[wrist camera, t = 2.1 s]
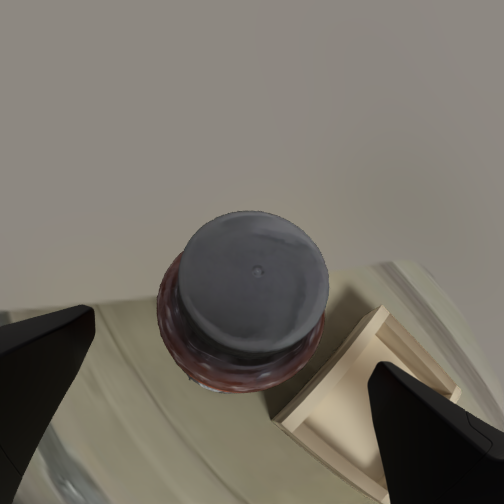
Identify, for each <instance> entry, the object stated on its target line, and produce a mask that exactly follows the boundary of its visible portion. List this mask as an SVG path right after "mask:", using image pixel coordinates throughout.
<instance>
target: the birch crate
mask: <svg viewBox="0 0 504 504" xmlns="http://www.w3.org/2000/svg"><path fill="white" fill-rule="evenodd" d="M380 361H389V362H392V363H393V364H395V365H396V366H398V367H399V368H401V369H402V370H404V371H405V372H407V373H409V374H410V375H412V376H413V377H415V378H416V379H418V380H419V381H421V382H422V383H424V384H425V385H427V386H429V387H430V388H432V389H433V390H435V391H436V392H438V393H439V394H441V395H442V396H444V397H446V398H447V399H449V400H450V401H452V402H453V403H455V404H456V403H457V401H458V398H459V396H460V394H461V392H462V390H461V389H460V388H459V387H458V386H457V385H456V383H455V382H454V381H453V380H452V379H451V378H450V377H449V375H448V374H447V373H446V372H445V371H444V370H443V369H442V368H441V367H440V365H439V364H438V363H437V362H436V361H435V360H434V359H433V358H432V357H431V356H430V355H429V353H428V352H427V351H426V350H425V349H424V348H423V347H422V346H421V345H420V344H419V343H418V342H417V341H416V339H415V338H414V337H413V336H412V335H411V334H410V333H409V332H408V331H407V330H406V329H405V328H404V327H403V326H402V325H401V324H400V323H399V322H398V321H397V320H396V319H395V318H394V317H393V316H392V315H391V313H390V312H389V311H388V310H387V309H386V308H385V307H384V306H383V305H381V306H379V307H378V308H376V309H374V310H373V311H371V312H370V313H368V314H366V315H365V316H363V318H362V319H361V320H360V322H359V323H358V324H357V325H356V327H355V328H354V329H353V330H352V332H351V333H350V334H349V335H348V337H347V338H346V339H345V340H344V342H343V343H342V344H341V345H340V346H339V348H338V349H337V350H336V351H335V352H334V354H333V355H332V356H331V357H330V358H329V359H328V361H327V362H326V363H325V364H324V365H323V366H322V367H321V369H320V370H319V371H318V372H317V373H316V374H315V375H314V376H313V377H312V379H311V380H310V381H309V382H308V383H307V384H306V385H305V386H304V387H303V388H302V389H301V390H300V391H299V392H298V394H297V395H296V396H295V397H294V398H293V399H292V400H291V401H290V402H289V403H288V404H287V405H286V406H285V407H284V408H283V409H282V410H281V411H280V412H279V413H278V414H277V415H276V416H275V417H274V418H273V419H272V420H271V421H272V422H273V423H274V424H275V425H277V426H278V427H279V428H280V429H281V430H282V431H283V432H284V433H286V434H287V435H288V436H289V437H290V438H291V439H292V440H294V441H295V442H296V443H297V444H298V445H299V446H301V447H302V448H303V449H304V450H305V451H307V452H308V453H309V454H310V455H311V456H313V457H314V458H315V459H316V460H318V461H319V462H320V463H321V464H323V465H324V466H325V467H326V468H328V469H329V470H330V471H332V472H333V473H334V474H336V475H337V476H338V477H339V478H341V479H342V480H343V481H345V482H346V483H348V484H349V485H350V486H352V487H353V488H354V489H356V490H357V491H359V492H360V493H361V494H363V495H364V496H366V497H367V498H369V499H371V500H374V501H376V502H378V503H380V504H390V499H389V494H388V489H387V484H386V479H385V474H384V470H383V465H382V461H381V456H380V452H379V448H378V443H377V439H376V435H375V431H374V427H373V422H372V415H371V408H370V401H369V395H368V389H367V383H368V380H369V378H370V376H371V374H372V372H373V370H374V368H375V366H376V364H377V363H378V362H380Z"/></svg>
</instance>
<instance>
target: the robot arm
mask: <svg viewBox="0 0 504 504" xmlns="http://www.w3.org/2000/svg"><path fill="white" fill-rule="evenodd" d="M94 336H95V312H94V309H93V308H92V307H89V306H86V305H78V306H74V307H70V308H67V309H63V310H59V311H56V312H52V313H49V314H45V315H41V316H38V317H34V318H30V319H27V320H23V321H19V322H16V323H12V324H8V325H5V326H1V327H0V504H12V501H13V499H14V496H15V494H16V492H17V489H18V487H19V485H20V482H21V480H22V477H23V475H24V473H25V471H26V469H27V467H28V464H29V462H30V460H31V458H32V456H33V454H34V452H35V450H36V448H37V446H38V444H39V442H40V440H41V438H42V436H43V434H44V432H45V430H46V428H47V427H48V425H49V423H50V421H51V419H52V417H53V415H54V414H55V412H56V410H57V408H58V406H59V405H60V403H61V401H62V399H63V398H64V396H65V394H66V392H67V391H68V389H69V387H70V385H71V384H72V382H73V380H74V379H75V377H76V375H77V373H78V371H79V369H80V367H81V365H82V362H83V360H84V358H85V356H86V354H87V352H88V349H89V347H90V345H91V343H92V341H93V339H94ZM367 389H368V395H369V401H370V408H371V415H372V422H373V427H374V431H375V435H376V439H377V443H378V448H379V452H380V456H381V461H382V465H383V470H384V474H385V479H386V484H387V489H388V494H389V499H390V504H504V432H502V431H500V430H498V429H496V428H494V427H493V426H491V425H489V424H487V423H485V422H484V421H482V420H480V419H479V418H477V417H475V416H474V415H472V414H471V413H469V412H467V411H465V410H464V409H463V408H461V407H460V406H458V405H456V404H455V403H453V402H452V401H450V400H449V399H447V398H446V397H444V396H442V395H441V394H439V393H438V392H436V391H435V390H433V389H432V388H430V387H429V386H427V385H425V384H424V383H422V382H421V381H419V380H418V379H416V378H415V377H413V376H412V375H410V374H409V373H407V372H405V371H404V370H402V369H401V368H399V367H398V366H396V365H395V364H393V363H392V362H389V361H380V362H378V363H377V364H376V366H375V368H374V370H373V372H372V374H371V376H370V378H369V380H368V383H367Z"/></svg>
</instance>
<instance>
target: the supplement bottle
mask: <svg viewBox="0 0 504 504" xmlns="http://www.w3.org/2000/svg"><path fill="white" fill-rule="evenodd" d="M328 296H329V274H328V269H327V267H326V265H325V261H324V259H323V256H322V254H321V252H320V250H319V248H318V247H317V245H316V244H315V243H314V242H313V241H312V240H311V238H310V237H309V236H308V235H307V234H306V233H305V232H304V231H303V230H301V229H300V228H299V227H298V226H296V225H294V224H293V223H291V222H290V221H288V220H286V219H284V218H281V217H280V216H277V215H273V214H270V213H265V212H262V211H238V212H232V213H228V214H225V215H222V216H219V217H217V218H215V219H214V220H212V221H210V222H208V223H206V224H205V225H203V226H202V227H201V228H200V229H199V230H198V231H197V232H196V233H195V234H194V235H193V236H192V238H191V239H190V240H189V242H188V244H187V246H186V247H185V249H184V251H183V252H182V253H180V254H179V255H178V257H177V258H176V259H175V260H174V261H173V263H172V264H171V265H170V267H169V268H168V270H167V271H166V273H165V275H164V278H163V280H162V283H161V284H160V289H159V293H158V296H157V319H158V326H159V329H160V335H161V337H162V339H163V341H164V344H165V346H166V348H167V349H168V351H169V353H170V354H171V356H172V357H173V359H174V360H175V362H176V364H177V365H178V366H179V367H181V369H182V370H183V371H184V372H185V373H186V374H187V375H188V377H189V380H190V379H192V380H193V381H194V382H196V383H197V384H199V385H200V386H202V387H204V388H206V389H208V390H211V391H215V392H219V393H250V392H257V391H261V390H265V389H268V388H271V387H274V386H276V385H278V384H281V383H283V382H284V381H286V380H288V379H290V378H291V377H292V376H294V375H295V374H296V373H297V372H299V371H300V370H301V369H302V368H303V367H304V366H305V365H306V363H307V362H308V361H309V360H310V358H311V357H312V356H313V354H314V353H315V351H316V349H317V347H318V344H319V342H320V339H321V336H322V333H323V328H324V322H325V308H326V304H327V300H328Z"/></svg>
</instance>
